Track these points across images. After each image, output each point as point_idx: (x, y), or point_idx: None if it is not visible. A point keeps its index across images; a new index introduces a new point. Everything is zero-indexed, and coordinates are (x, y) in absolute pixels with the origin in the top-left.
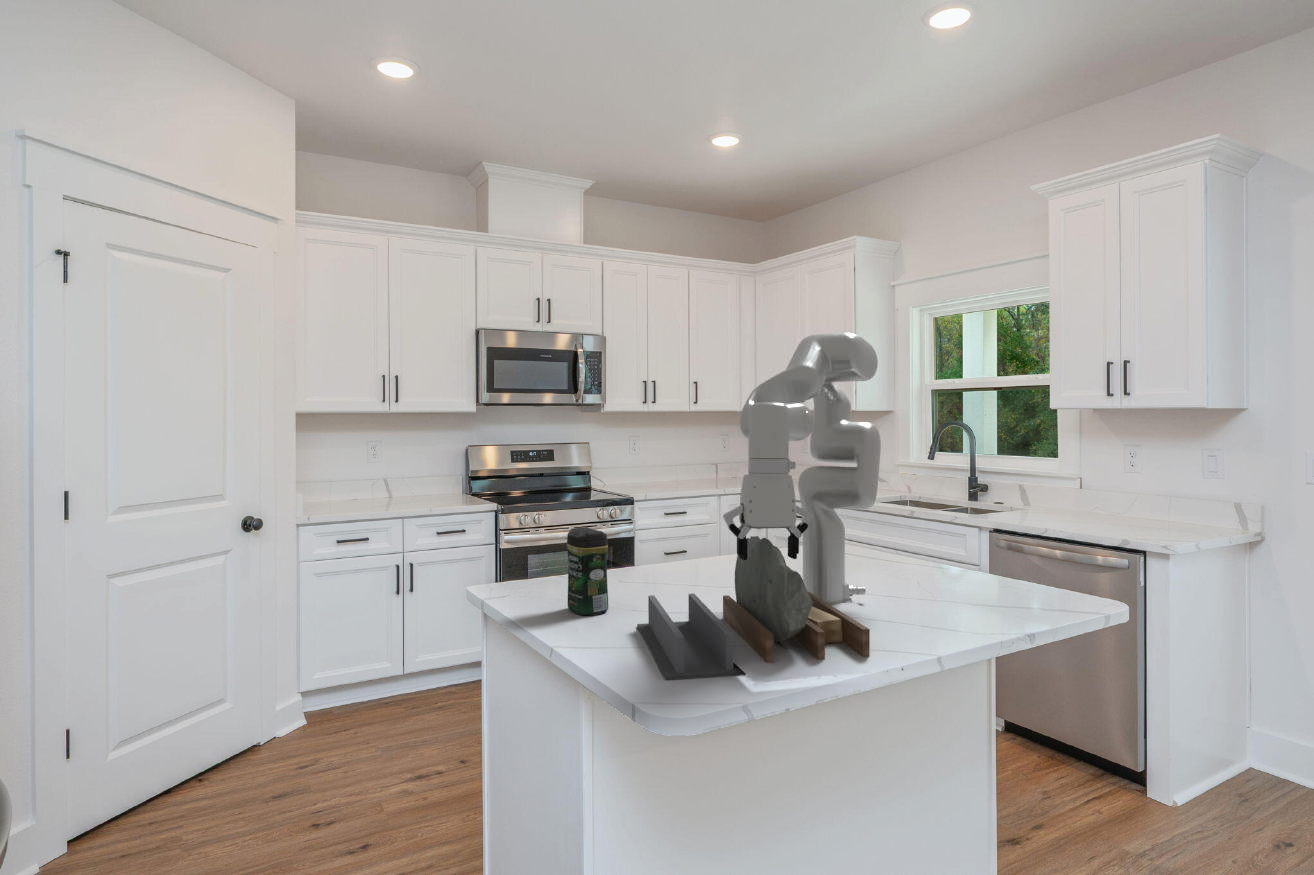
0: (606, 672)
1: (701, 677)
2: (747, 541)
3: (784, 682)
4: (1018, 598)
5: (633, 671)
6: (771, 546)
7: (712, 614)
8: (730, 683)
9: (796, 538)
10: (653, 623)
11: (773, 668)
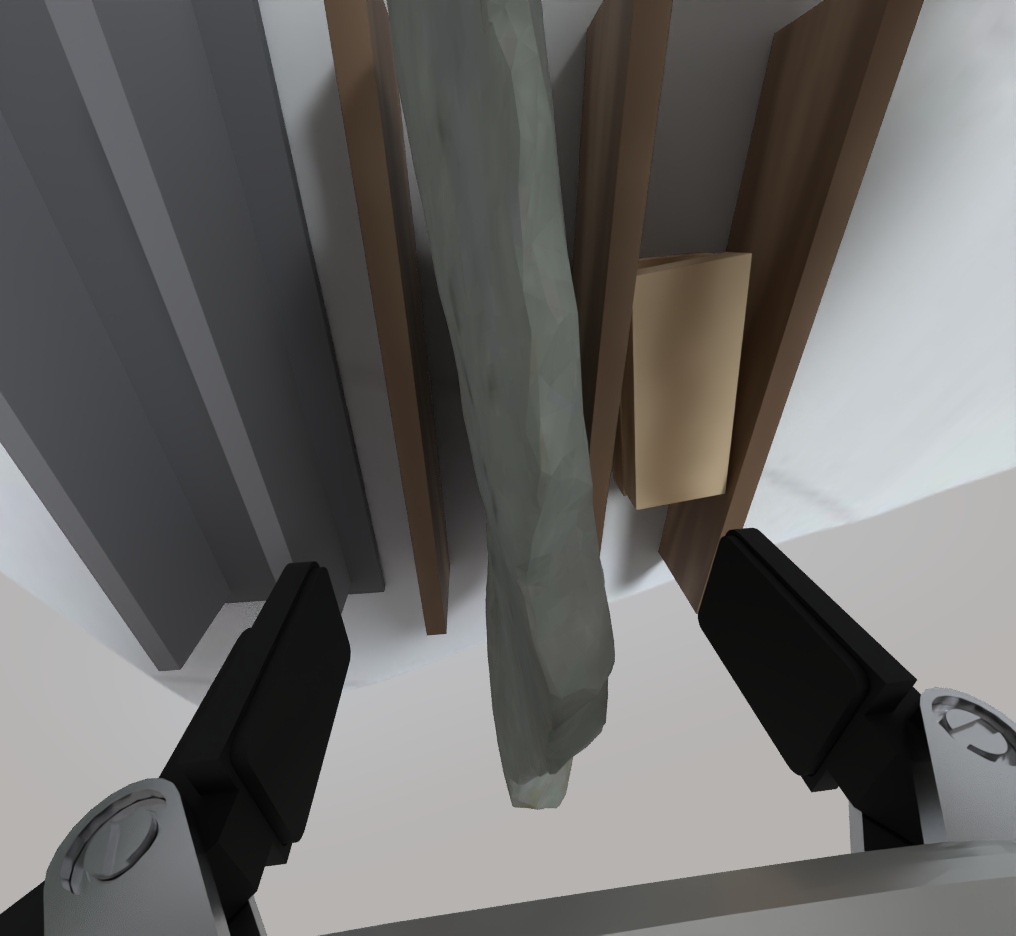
0: (12, 547)
1: None
2: (306, 822)
3: (453, 621)
4: None
5: None
6: (544, 761)
7: (252, 469)
8: (342, 619)
9: (827, 787)
10: None
11: (452, 557)
